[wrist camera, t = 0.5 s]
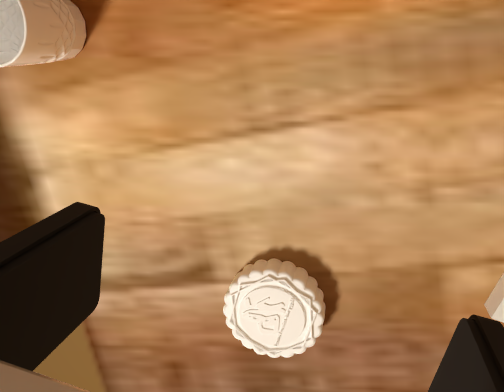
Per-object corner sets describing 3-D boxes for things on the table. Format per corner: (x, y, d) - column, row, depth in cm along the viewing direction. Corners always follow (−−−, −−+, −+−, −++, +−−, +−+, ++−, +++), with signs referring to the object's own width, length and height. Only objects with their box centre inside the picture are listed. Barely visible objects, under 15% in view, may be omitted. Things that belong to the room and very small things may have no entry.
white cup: (42, 71, 49) (-31, 74, 39) (19, -2, 47) (-64, -16, 37) (100, 57, 47) (38, 58, 37) (79, -19, 44) (7, -39, 35)
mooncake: (242, 243, 50) (234, 256, 47) (339, 277, 49) (338, 293, 45) (219, 322, 54) (211, 339, 51) (308, 356, 53) (305, 376, 50)
